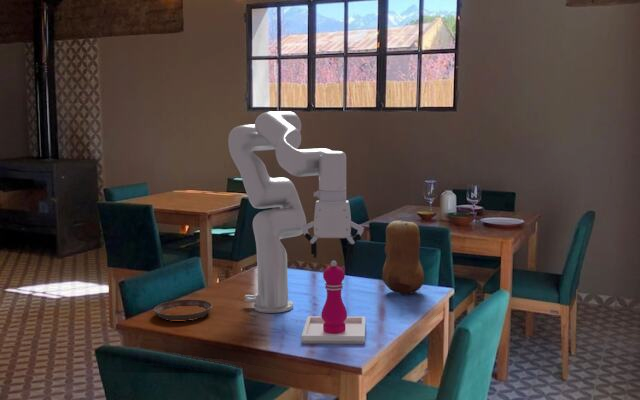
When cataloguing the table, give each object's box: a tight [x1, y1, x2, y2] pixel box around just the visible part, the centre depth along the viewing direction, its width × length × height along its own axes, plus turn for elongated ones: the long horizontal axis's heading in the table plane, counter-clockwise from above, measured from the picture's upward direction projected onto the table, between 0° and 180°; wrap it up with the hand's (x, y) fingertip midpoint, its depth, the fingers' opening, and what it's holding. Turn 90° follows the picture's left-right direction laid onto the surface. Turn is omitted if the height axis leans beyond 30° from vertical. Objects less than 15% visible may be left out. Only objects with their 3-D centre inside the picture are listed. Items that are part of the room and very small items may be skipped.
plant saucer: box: [153, 298, 213, 320], centre depth 208 cm, size 18×18×3 cm
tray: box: [301, 315, 366, 345], centre depth 188 cm, size 17×17×2 cm
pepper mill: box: [320, 260, 348, 334], centre depth 187 cm, size 7×7×20 cm
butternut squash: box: [381, 219, 425, 296], centre depth 226 cm, size 14×13×25 cm
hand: (332, 256), depth 186 cm, fingers open, 9 cm apart
